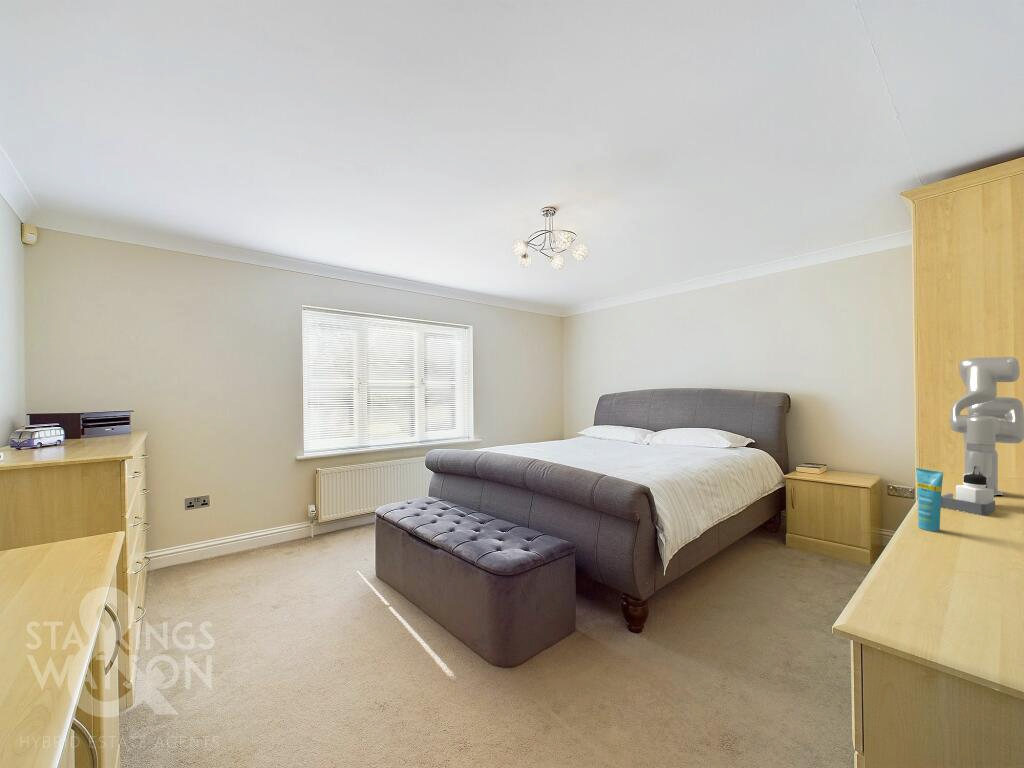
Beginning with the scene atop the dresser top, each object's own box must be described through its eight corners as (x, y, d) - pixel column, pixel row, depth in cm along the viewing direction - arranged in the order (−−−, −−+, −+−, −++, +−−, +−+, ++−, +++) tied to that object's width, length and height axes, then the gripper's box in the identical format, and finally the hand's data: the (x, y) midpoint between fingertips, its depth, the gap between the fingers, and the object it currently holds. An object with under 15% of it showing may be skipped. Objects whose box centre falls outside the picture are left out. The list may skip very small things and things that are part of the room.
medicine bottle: (994, 508, 158) (994, 476, 158) (975, 508, 158) (975, 476, 158) (973, 503, 165) (973, 472, 165) (955, 503, 165) (955, 472, 165)
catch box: (949, 503, 165) (949, 493, 165) (995, 511, 155) (995, 500, 155) (939, 507, 160) (939, 496, 160) (985, 516, 149) (985, 504, 149)
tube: (910, 526, 139) (910, 467, 138) (920, 524, 140) (920, 467, 140) (938, 533, 131) (939, 472, 131) (948, 532, 133) (949, 471, 133)
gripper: (973, 446, 172) (972, 490, 172) (960, 448, 165) (960, 495, 165) (1000, 448, 165) (1000, 495, 165) (989, 451, 158) (988, 500, 158)
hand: (980, 495), depth 165 cm, fingers closed
